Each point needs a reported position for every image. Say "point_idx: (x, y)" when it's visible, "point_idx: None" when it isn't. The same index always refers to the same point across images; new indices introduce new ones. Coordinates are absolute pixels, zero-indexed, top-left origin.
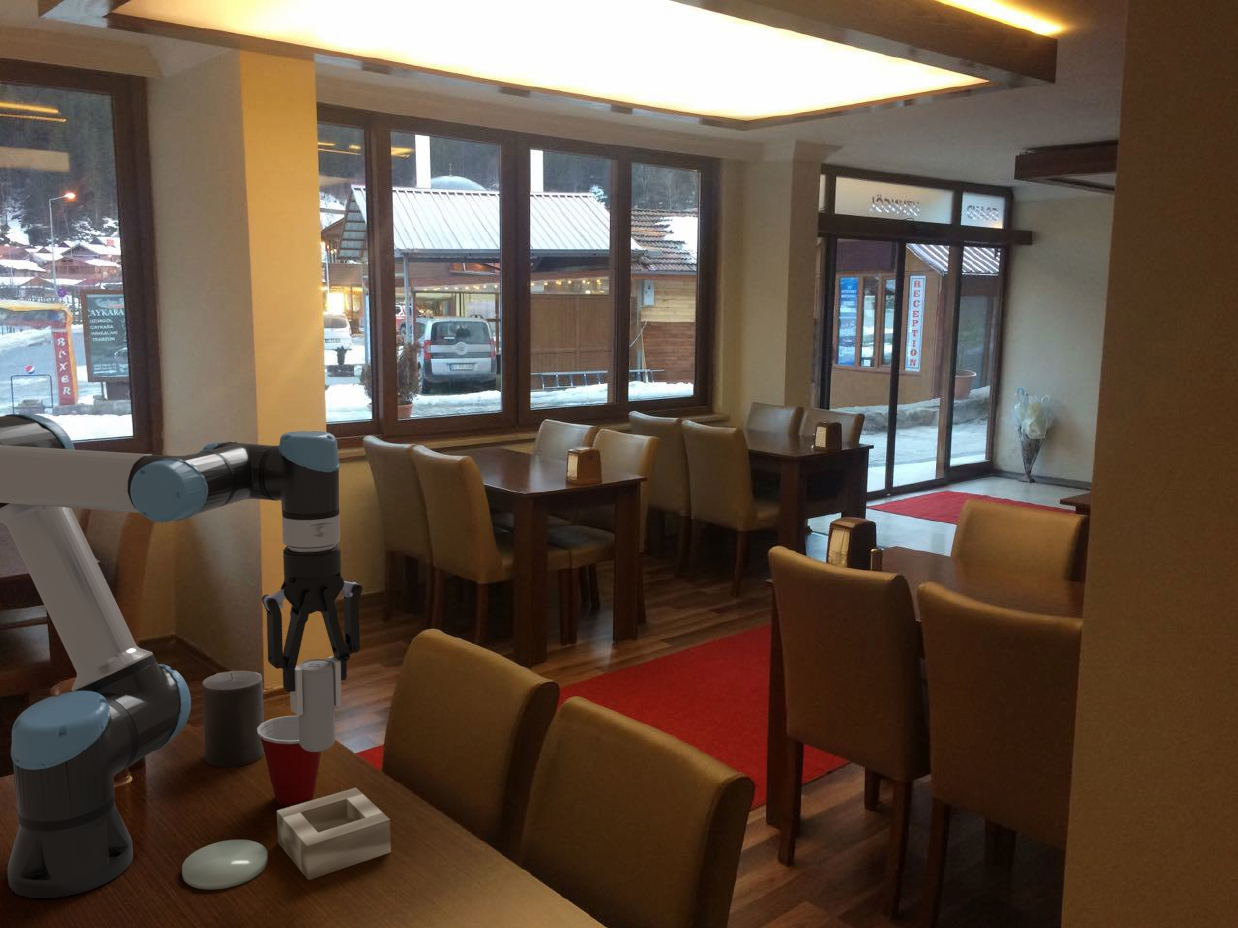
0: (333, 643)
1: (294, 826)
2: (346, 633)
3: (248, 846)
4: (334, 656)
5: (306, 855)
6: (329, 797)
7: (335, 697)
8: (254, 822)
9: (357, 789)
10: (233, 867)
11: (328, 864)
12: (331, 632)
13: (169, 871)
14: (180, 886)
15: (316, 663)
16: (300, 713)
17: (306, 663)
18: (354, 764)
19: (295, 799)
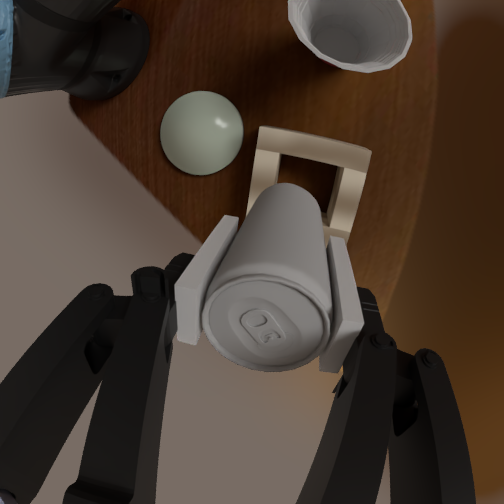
0: (337, 408)
1: (255, 180)
2: (417, 418)
3: (229, 123)
4: (355, 340)
5: None
6: (330, 146)
7: None
8: (268, 63)
9: (369, 157)
10: (199, 152)
11: None
12: (315, 464)
13: (160, 105)
14: (158, 138)
15: (276, 324)
16: None
17: (247, 297)
18: (431, 41)
19: (326, 63)
